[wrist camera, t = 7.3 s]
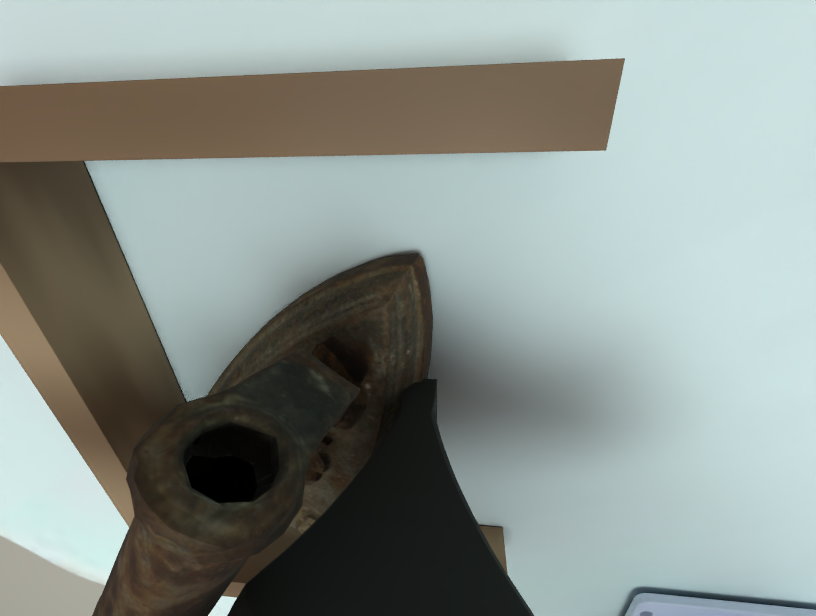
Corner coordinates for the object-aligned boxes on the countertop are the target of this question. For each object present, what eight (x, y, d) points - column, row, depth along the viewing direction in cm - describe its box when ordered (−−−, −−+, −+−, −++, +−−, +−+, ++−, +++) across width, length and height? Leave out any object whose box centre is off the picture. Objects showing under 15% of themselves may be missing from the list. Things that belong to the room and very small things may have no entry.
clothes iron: (199, 434, 16) (-238, 749, 6) (339, 189, 13) (-35, 48, 3) (341, 534, 16) (124, 1031, 6) (512, 306, 13) (639, 514, 3)
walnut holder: (500, 544, 17) (507, 628, 14) (211, 517, 18) (170, 589, 16) (571, 66, 8) (624, 58, 5) (8, 90, 9) (-161, 93, 7)
